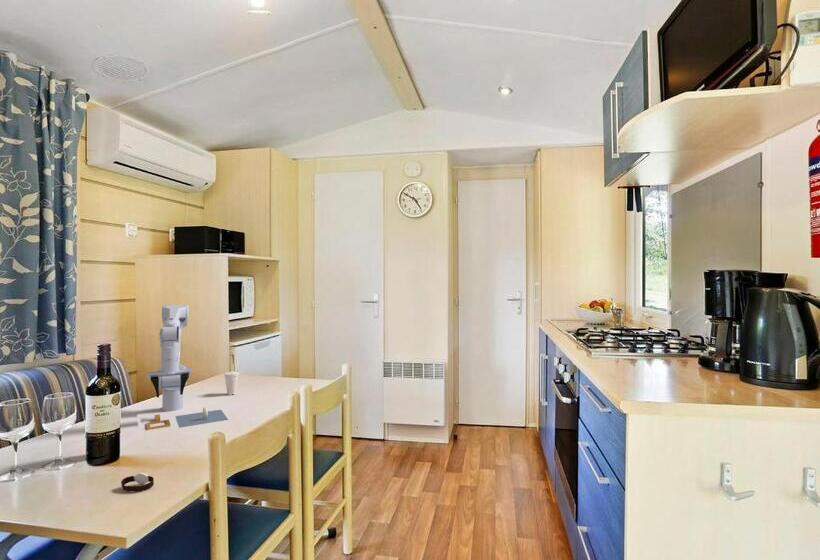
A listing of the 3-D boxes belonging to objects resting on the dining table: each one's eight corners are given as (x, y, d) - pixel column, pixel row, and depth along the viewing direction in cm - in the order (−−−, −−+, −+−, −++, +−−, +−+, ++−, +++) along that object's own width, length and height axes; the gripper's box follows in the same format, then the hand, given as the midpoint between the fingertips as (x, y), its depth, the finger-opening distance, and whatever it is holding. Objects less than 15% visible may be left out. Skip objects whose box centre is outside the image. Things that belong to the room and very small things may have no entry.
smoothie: (233, 396, 196) (233, 365, 196) (221, 395, 197) (221, 364, 197) (242, 392, 202) (242, 362, 202) (229, 392, 204) (229, 362, 204)
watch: (158, 484, 112) (158, 470, 112) (146, 493, 107) (147, 478, 107) (128, 484, 112) (128, 470, 112) (115, 493, 107) (115, 478, 107)
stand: (175, 418, 164) (175, 405, 164) (221, 412, 173) (221, 399, 173) (179, 430, 151) (179, 416, 151) (228, 422, 160) (228, 408, 160)
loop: (170, 429, 153) (170, 421, 153) (147, 432, 149) (147, 425, 149) (167, 419, 163) (167, 413, 163) (146, 423, 159) (146, 416, 159)
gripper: (147, 362, 154) (147, 400, 154) (192, 358, 162) (192, 395, 162) (146, 359, 160) (146, 396, 160) (190, 355, 168) (190, 391, 168)
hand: (169, 395), depth 162 cm, fingers open, 7 cm apart
